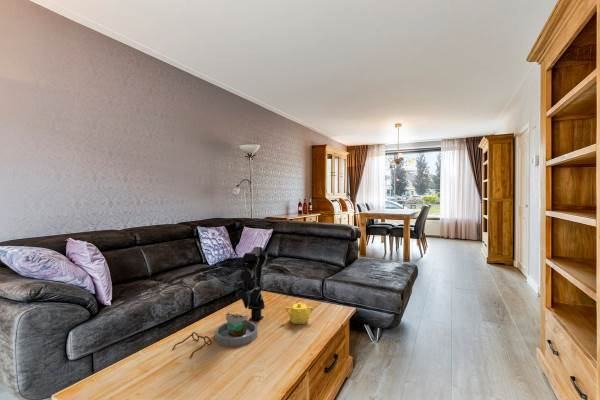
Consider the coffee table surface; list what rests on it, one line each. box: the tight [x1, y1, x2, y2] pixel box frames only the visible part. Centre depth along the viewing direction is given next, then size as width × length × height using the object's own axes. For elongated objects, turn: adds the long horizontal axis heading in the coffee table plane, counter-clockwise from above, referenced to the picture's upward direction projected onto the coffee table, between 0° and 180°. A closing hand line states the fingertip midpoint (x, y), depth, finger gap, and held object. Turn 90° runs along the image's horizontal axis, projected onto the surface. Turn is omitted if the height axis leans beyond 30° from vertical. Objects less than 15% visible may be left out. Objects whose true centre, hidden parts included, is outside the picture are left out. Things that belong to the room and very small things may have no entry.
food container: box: [225, 311, 249, 337], centre depth 150 cm, size 12×6×10 cm, turn 68°
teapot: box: [285, 301, 314, 325], centre depth 168 cm, size 14×13×10 cm
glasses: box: [171, 331, 212, 360], centre depth 139 cm, size 13×13×5 cm
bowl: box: [214, 320, 258, 347], centre depth 151 cm, size 21×21×4 cm
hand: (250, 305), depth 158 cm, fingers open, 9 cm apart
